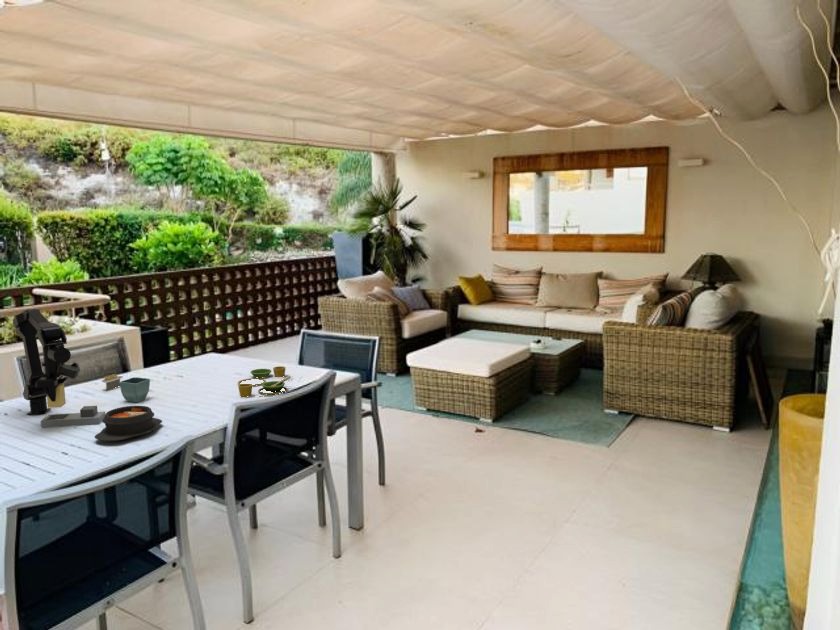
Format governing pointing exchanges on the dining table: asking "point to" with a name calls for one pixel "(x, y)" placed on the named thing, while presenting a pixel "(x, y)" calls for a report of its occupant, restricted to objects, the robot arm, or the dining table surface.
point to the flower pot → (135, 389)
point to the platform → (112, 381)
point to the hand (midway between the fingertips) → (56, 399)
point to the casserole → (127, 423)
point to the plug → (58, 397)
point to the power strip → (74, 418)
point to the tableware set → (268, 386)
